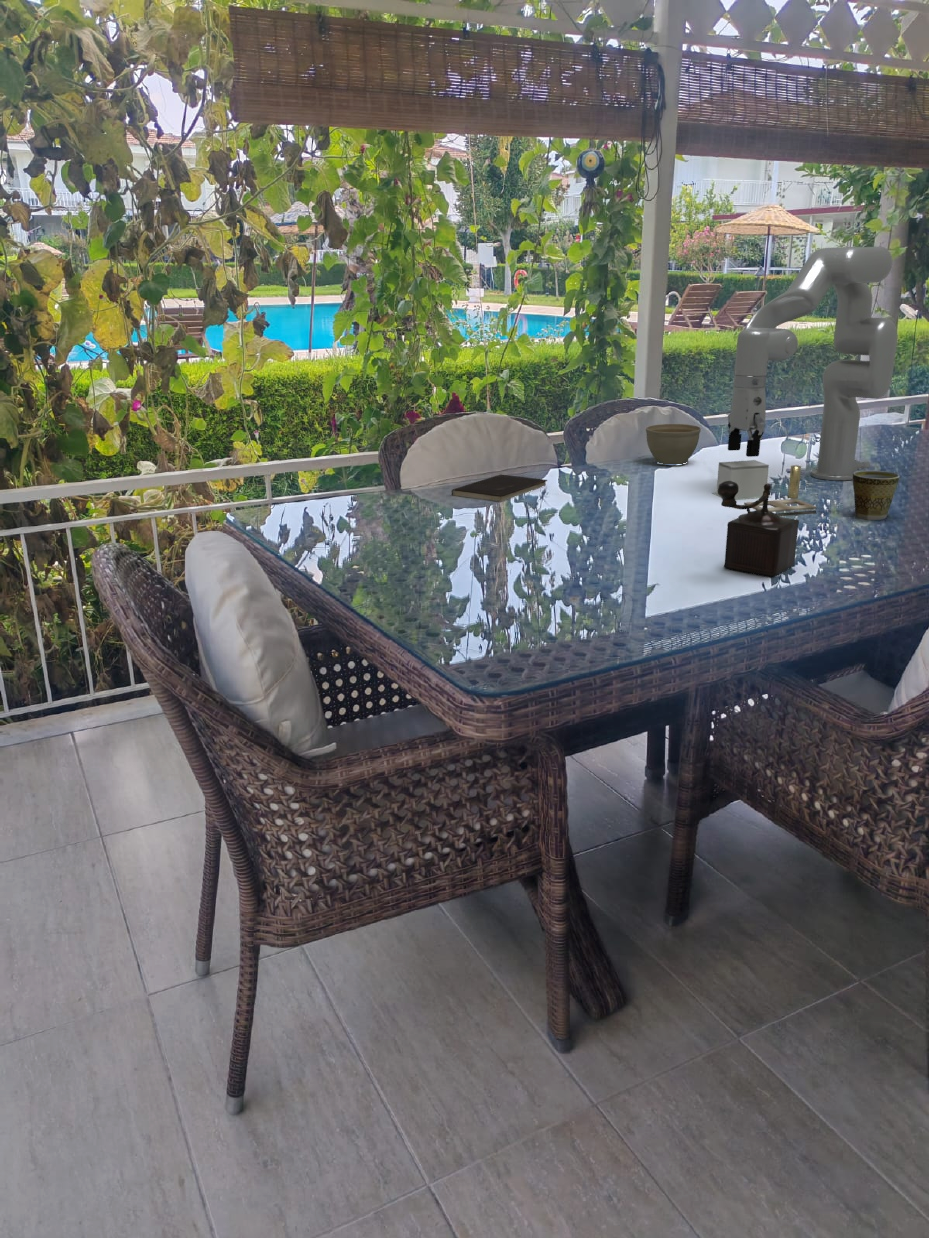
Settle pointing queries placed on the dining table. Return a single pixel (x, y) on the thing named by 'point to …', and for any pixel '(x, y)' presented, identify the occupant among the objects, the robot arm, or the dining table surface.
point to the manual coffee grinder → (758, 536)
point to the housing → (744, 477)
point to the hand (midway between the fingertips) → (742, 453)
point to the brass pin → (794, 481)
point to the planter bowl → (672, 442)
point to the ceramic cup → (873, 493)
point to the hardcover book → (499, 487)
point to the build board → (787, 507)
